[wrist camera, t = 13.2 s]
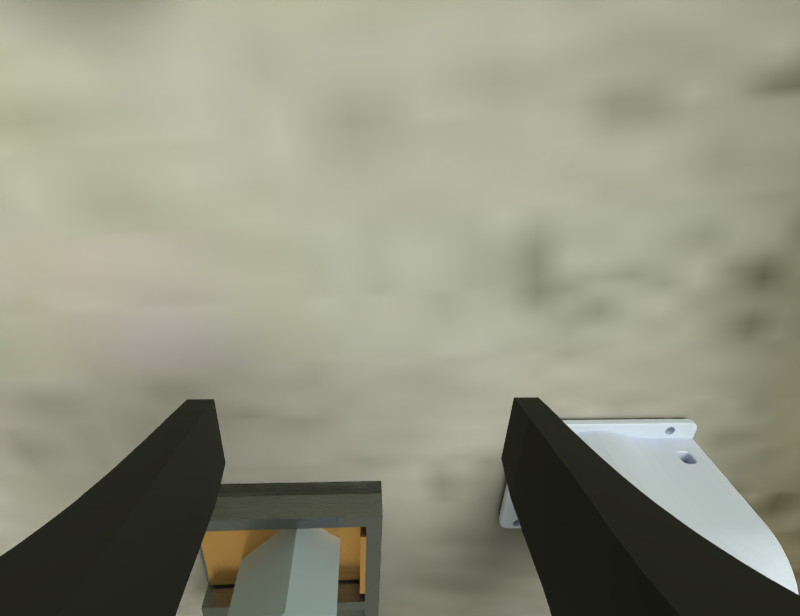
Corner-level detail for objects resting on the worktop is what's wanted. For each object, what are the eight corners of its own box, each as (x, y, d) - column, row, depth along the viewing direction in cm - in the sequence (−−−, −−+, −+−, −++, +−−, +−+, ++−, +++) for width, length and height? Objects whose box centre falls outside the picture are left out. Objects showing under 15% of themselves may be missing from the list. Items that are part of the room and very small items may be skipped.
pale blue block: (340, 538, 26) (335, 636, 22) (282, 580, 28) (267, 679, 23) (298, 515, 25) (284, 613, 21) (241, 560, 27) (216, 660, 22)
